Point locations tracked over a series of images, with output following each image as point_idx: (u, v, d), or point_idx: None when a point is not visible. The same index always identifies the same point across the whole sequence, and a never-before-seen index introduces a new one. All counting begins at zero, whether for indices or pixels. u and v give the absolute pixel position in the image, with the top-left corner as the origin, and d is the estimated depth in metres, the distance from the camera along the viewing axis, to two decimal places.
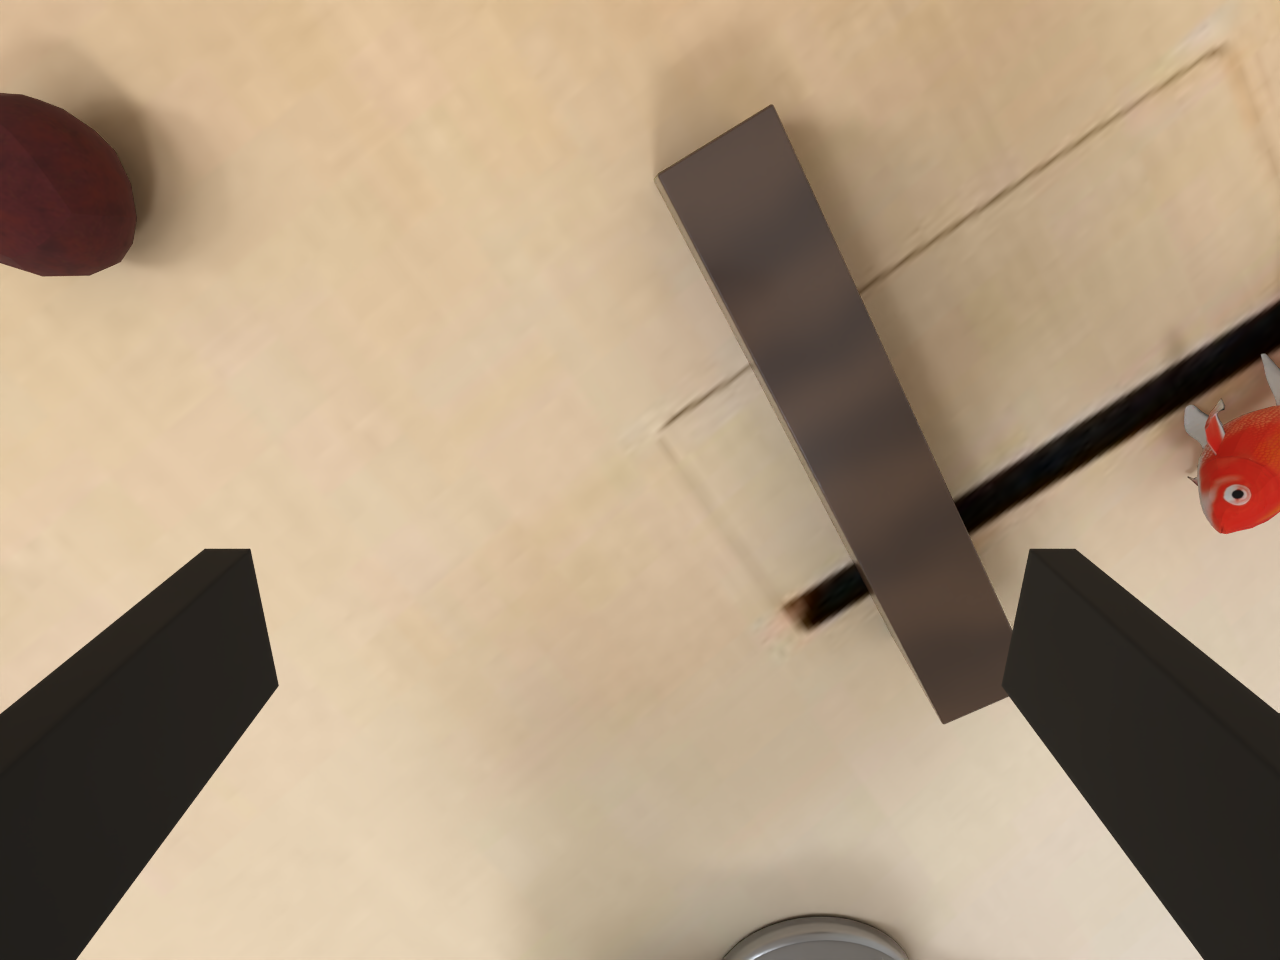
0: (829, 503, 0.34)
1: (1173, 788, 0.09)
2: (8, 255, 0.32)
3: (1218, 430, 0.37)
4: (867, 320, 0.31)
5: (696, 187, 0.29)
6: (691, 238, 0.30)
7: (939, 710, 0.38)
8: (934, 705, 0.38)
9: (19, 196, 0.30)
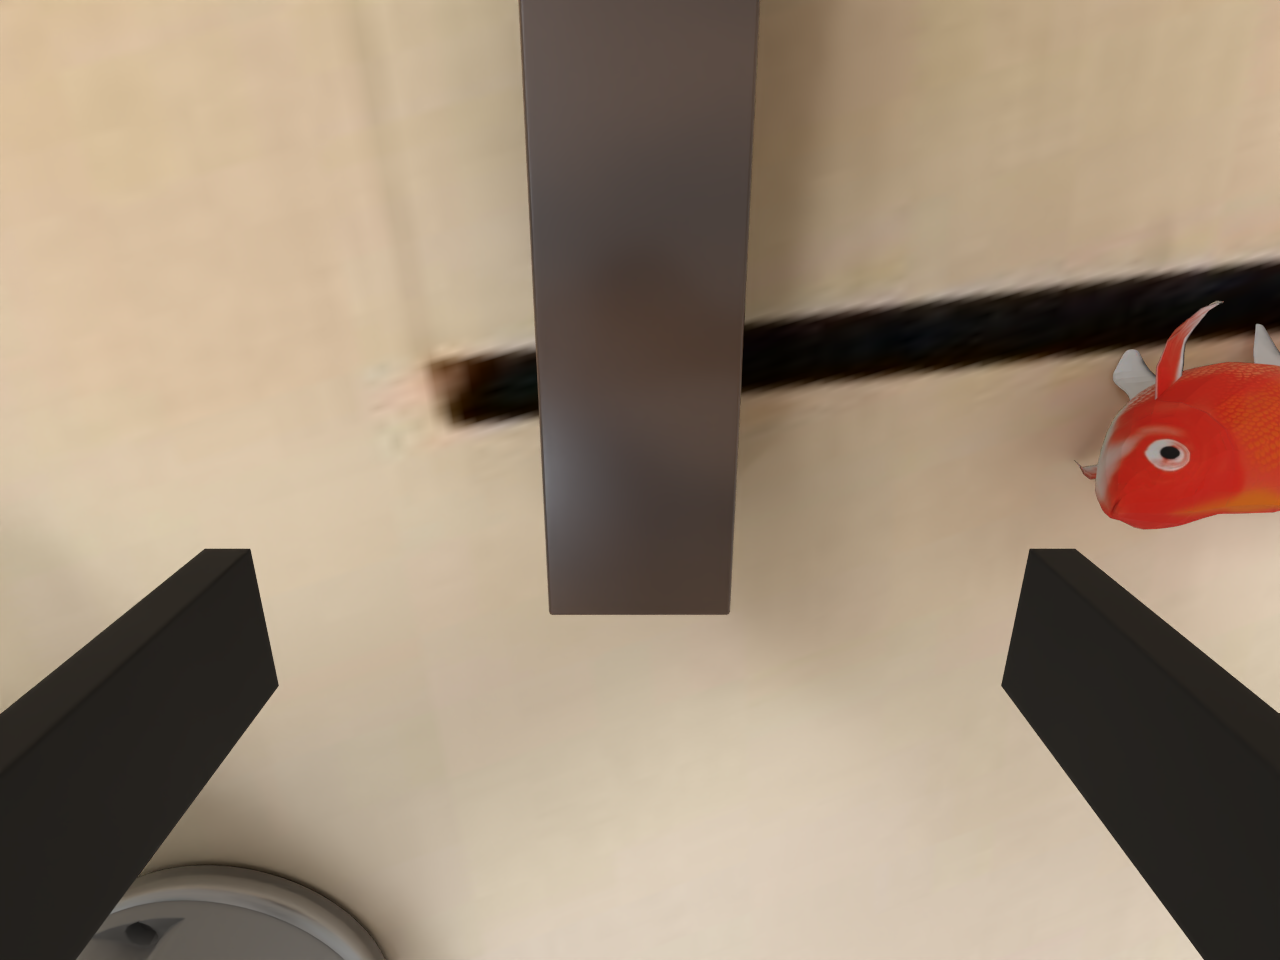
0: (522, 27, 0.15)
1: (1173, 788, 0.09)
2: None
3: (1176, 364, 0.22)
4: None
5: None
6: None
7: (554, 584, 0.20)
8: (549, 571, 0.20)
9: None
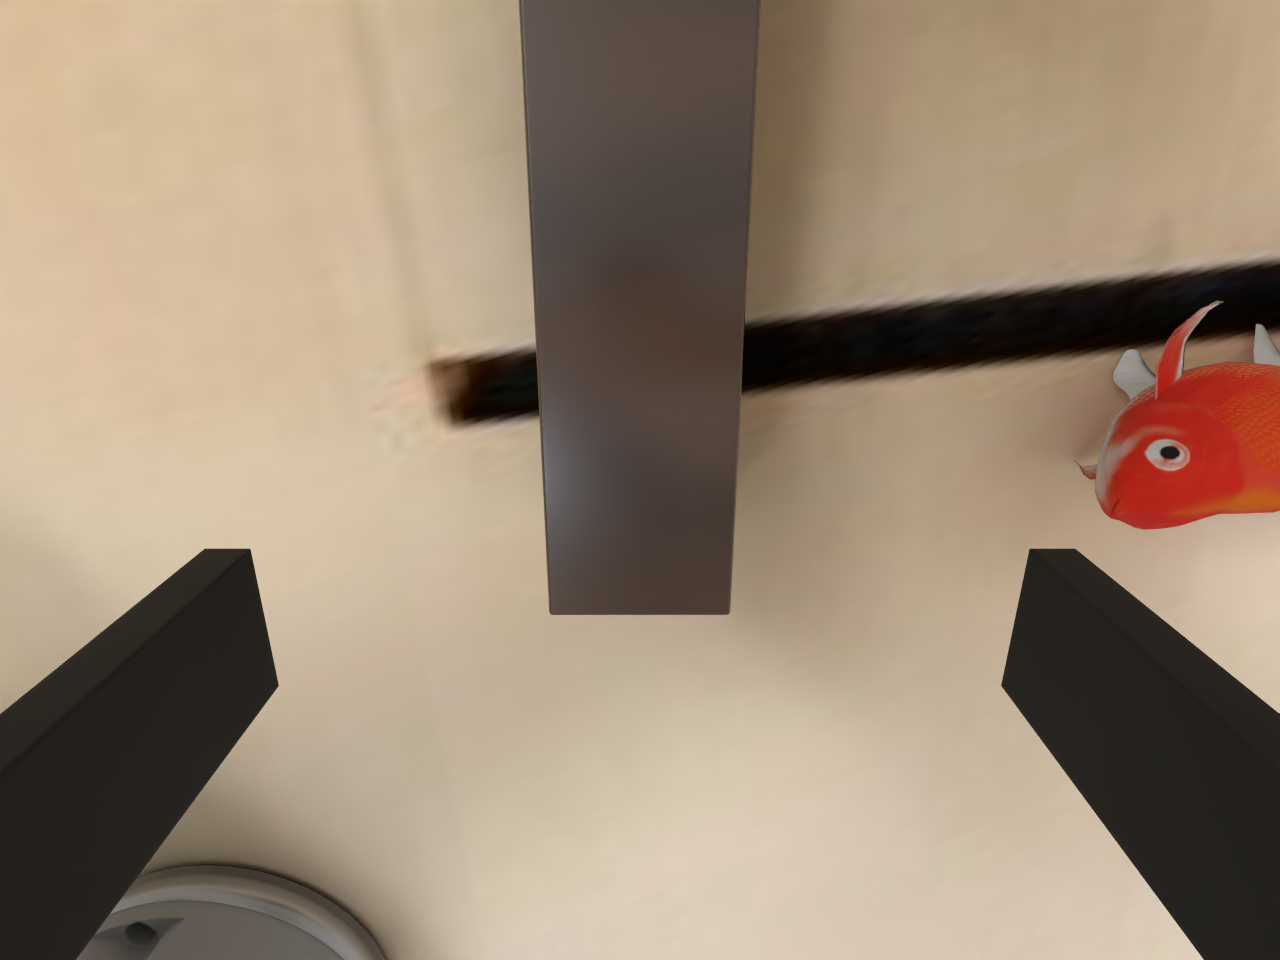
0: (523, 27, 0.15)
1: (1173, 788, 0.09)
2: None
3: (1176, 364, 0.22)
4: None
5: None
6: None
7: (554, 584, 0.20)
8: (549, 571, 0.20)
9: None
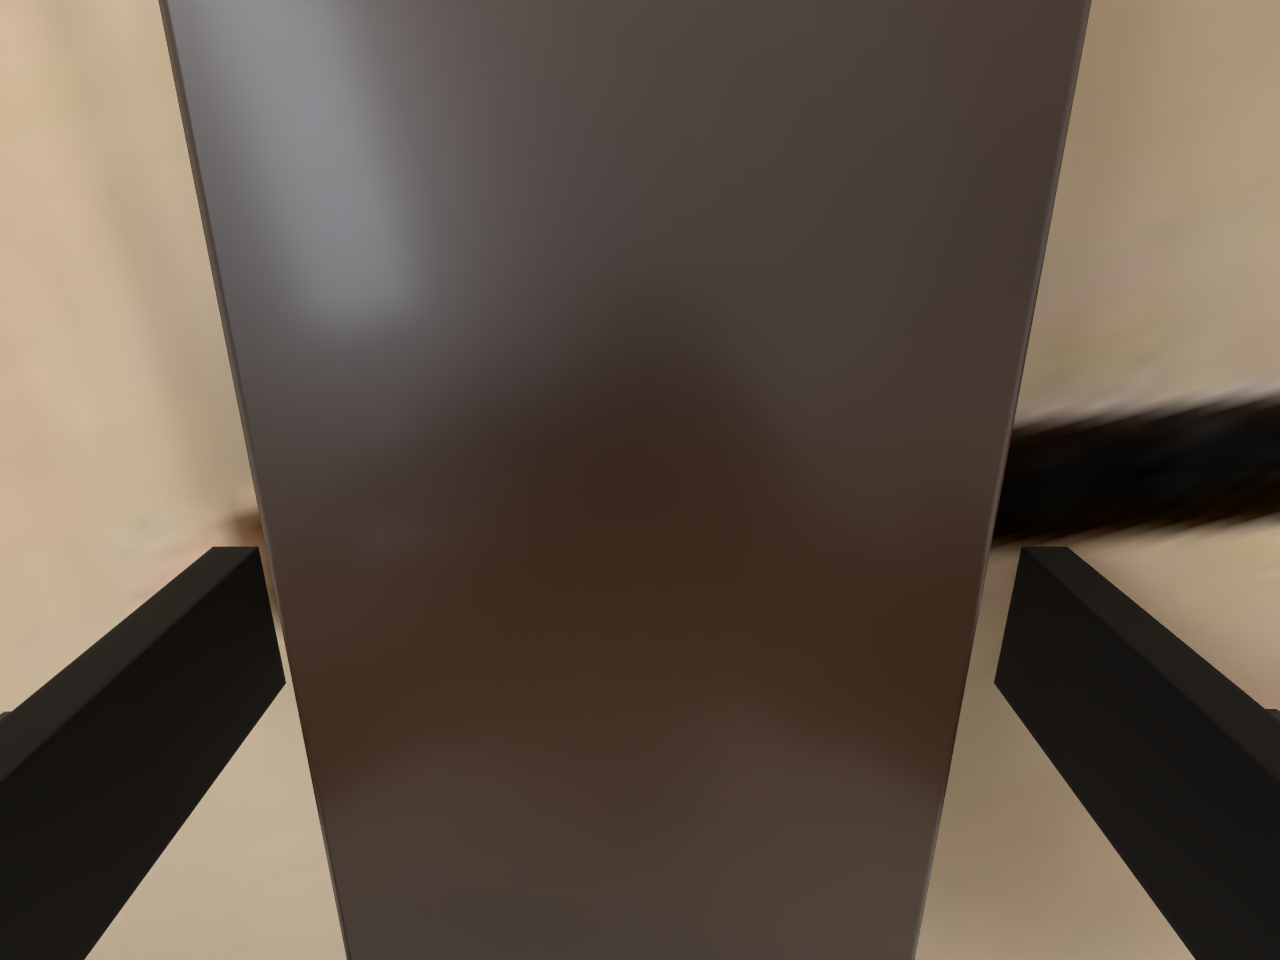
0: None
1: (1160, 782, 0.09)
2: None
3: None
4: None
5: None
6: None
7: None
8: None
9: None
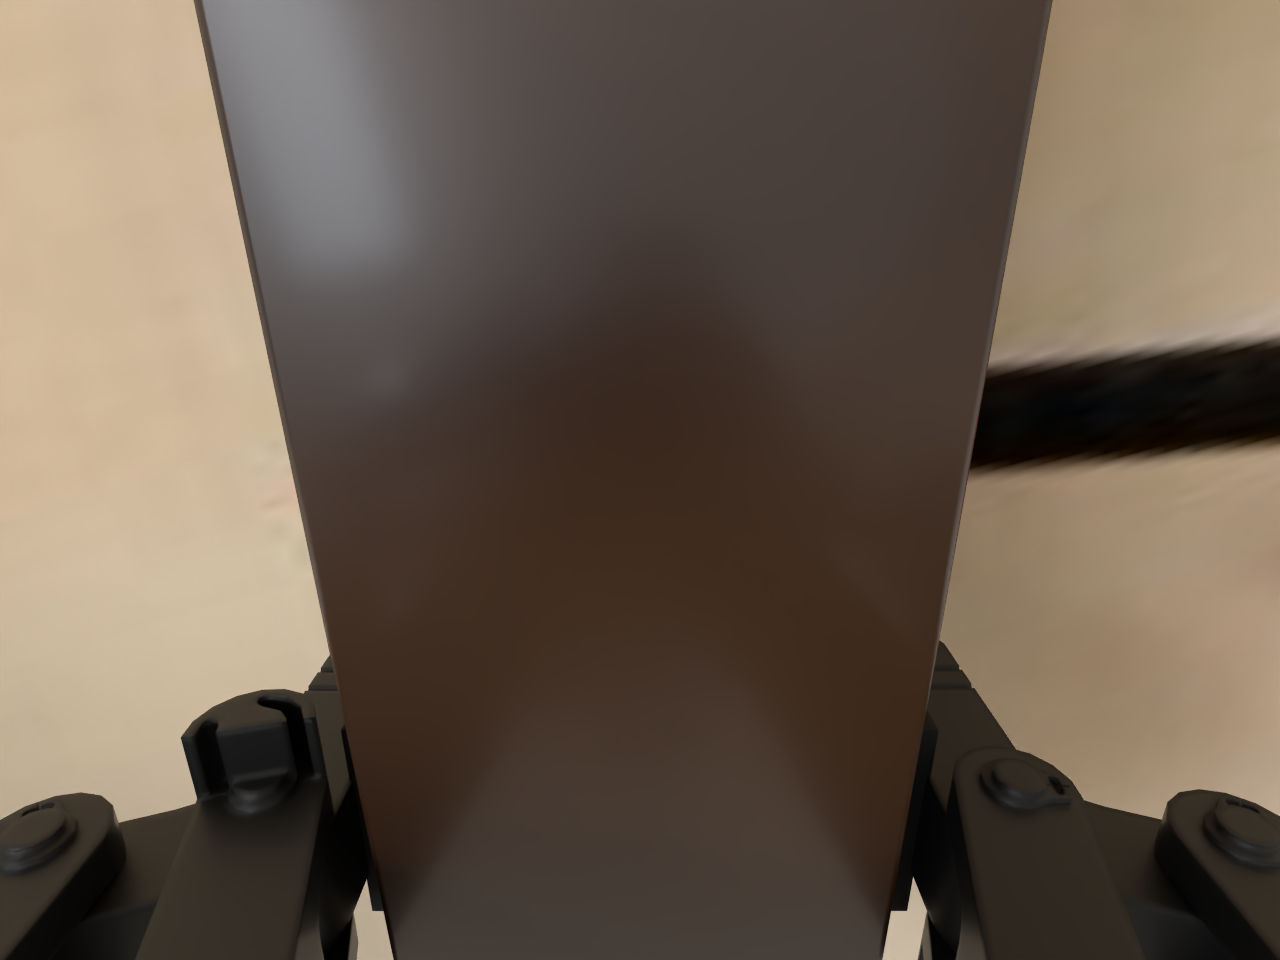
0: None
1: None
2: None
3: None
4: None
5: None
6: None
7: None
8: None
9: None
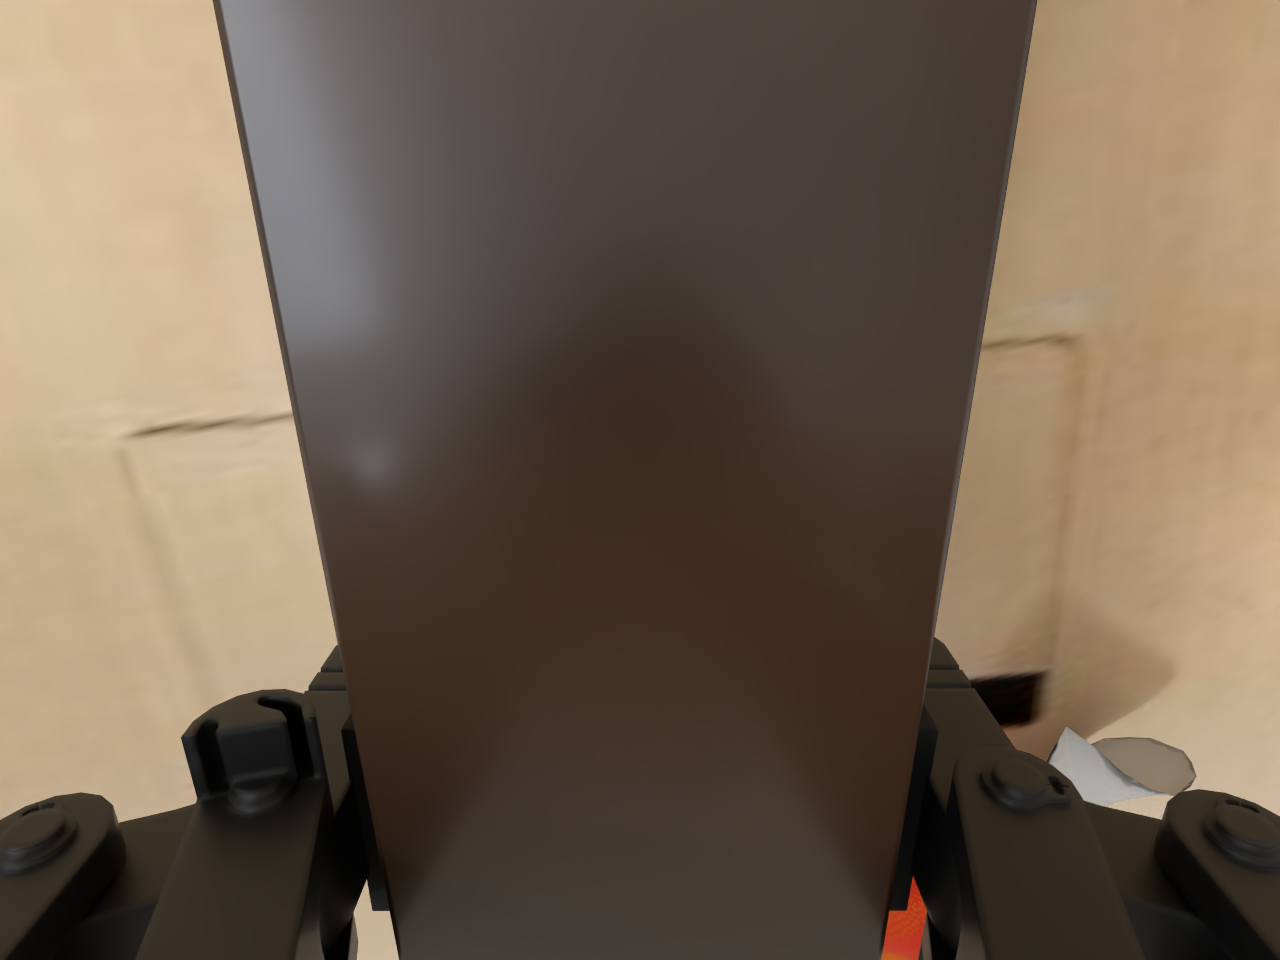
0: None
1: None
2: None
3: None
4: None
5: None
6: None
7: None
8: None
9: None
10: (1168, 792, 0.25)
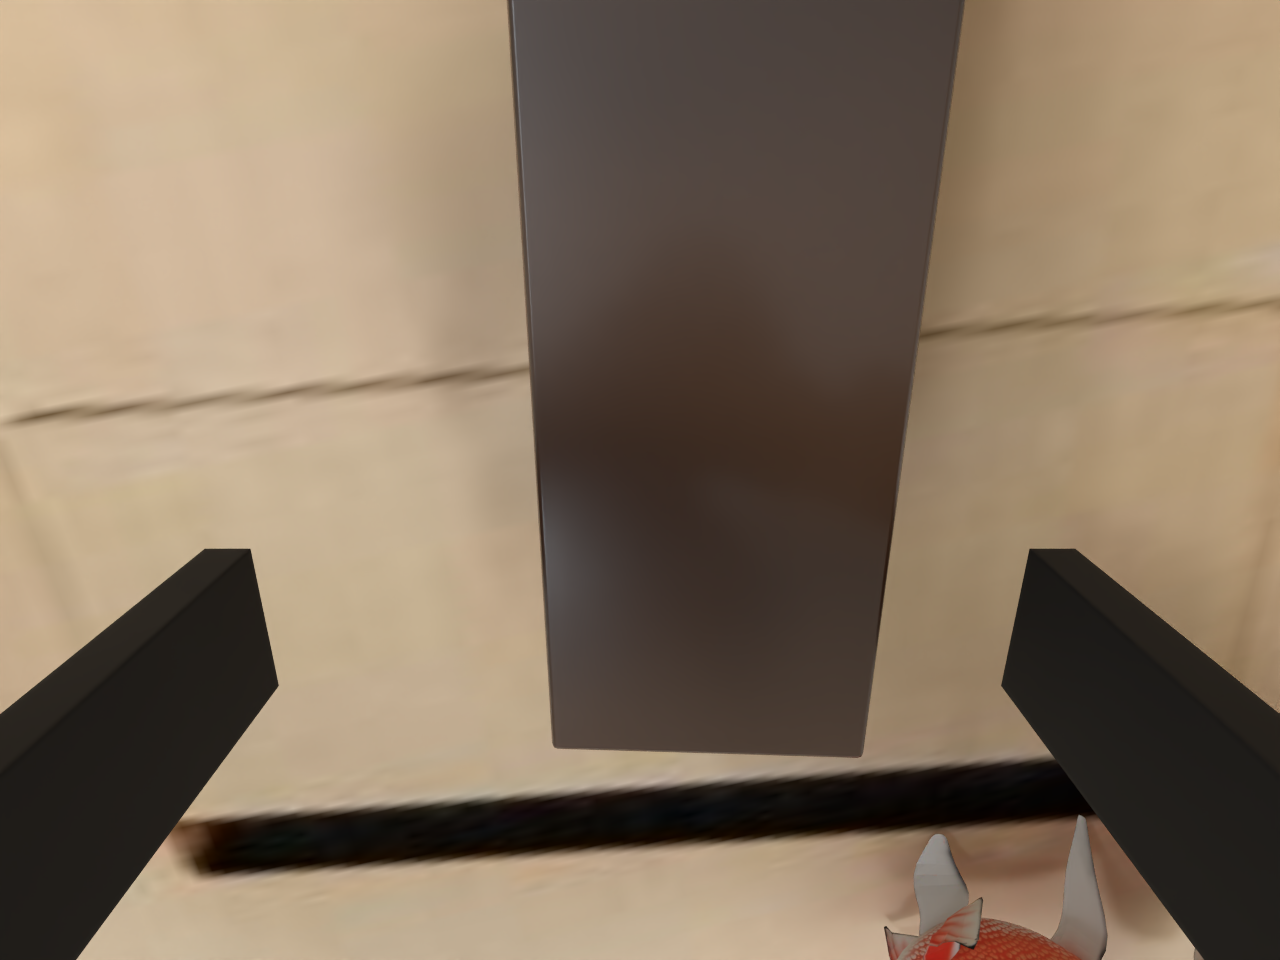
0: None
1: (1173, 788, 0.09)
2: None
3: (951, 941, 0.19)
4: None
5: None
6: None
7: (561, 700, 0.12)
8: (552, 680, 0.12)
9: None
10: None
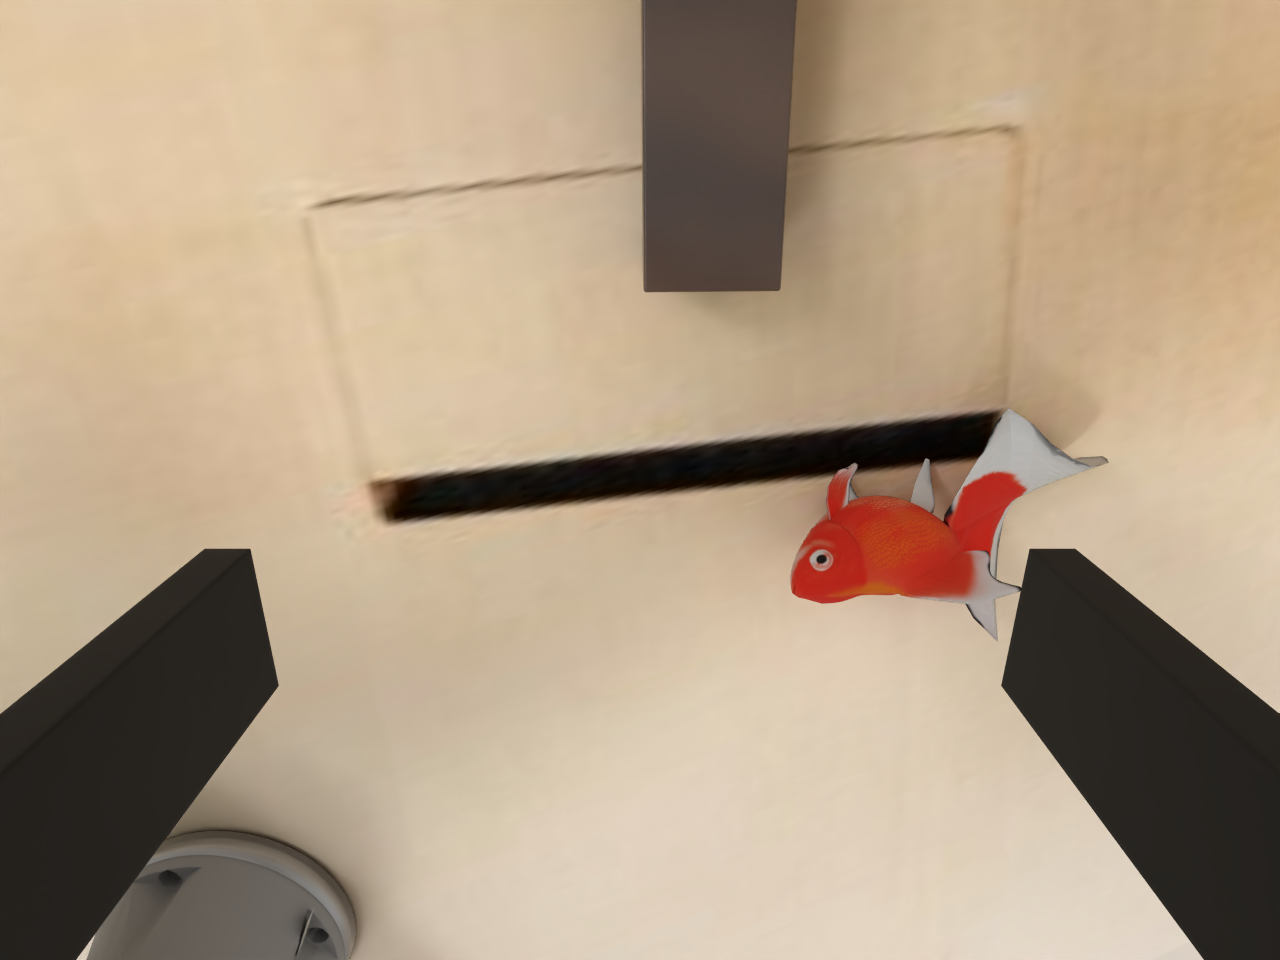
0: None
1: (1173, 788, 0.09)
2: None
3: (843, 497, 0.34)
4: None
5: None
6: None
7: (649, 263, 0.27)
8: (645, 252, 0.27)
9: None
10: None
